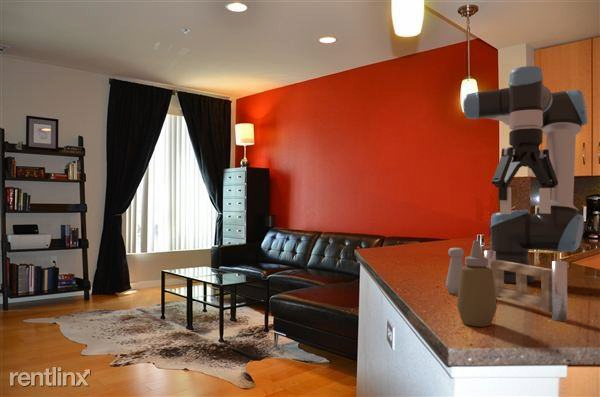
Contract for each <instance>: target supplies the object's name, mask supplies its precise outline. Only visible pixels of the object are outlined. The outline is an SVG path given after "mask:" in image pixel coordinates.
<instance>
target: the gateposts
mask: <svg viewBox="0 0 600 397" xmlns="http://www.w3.org/2000/svg"><path fill="white" fill-rule="evenodd" d="M483 257H486V258H488V266H486V267H488V268H490V269H491V270H492V260H496V251H492V250H491V249H490V250H487V249H486V250H483ZM551 269H552V312H551V320H553V321H557V322H567V321H568V261H564V260H552V261H551Z"/></svg>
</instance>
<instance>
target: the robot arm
mask: <svg viewBox="0 0 600 397" xmlns="http://www.w3.org/2000/svg"><path fill="white" fill-rule="evenodd" d="M543 80H544V77H543V70H542V67H541V66H537V65H526V66H520V67H517V68H514V69H512V70H511V71H510V72H509V80H508V87H505V88H501V89H500V88H498V89H492V90H484V91H483V90H482V91H476V92H471V93H467V94H466V95H465V97H464V98H463V103H462V104H463V105H462V108H463V112H464V116H465V117H466V119H468V120H478V119H490V120H493V121H500V122H502V123H503V124H505V125H506V126H509V130H510V131H509V133H508V134H509V135H508V136H509V137H508V138H509V139H508V140H509V141H508V144H509V147H502V149H501V154H500V155H501V156H500V159H499V161H498V164H497V167H496V169H495V172H494V174H493V177H492V180H491V184H492V185H493V186H494V187H495V188H498V200H499V212H495V213H493V214H492V215H491V217H490V226H489V228H490V250H492V251H496V260H502V261H508V262H513V263H519V264H525V265H530V266H532V263H531V260H530V250H531V251H532V250H533V251H547V252H549V251H550V252H557V253H562V252H565V253H566V252H567V253H573V252H575V251H578V249H579V247H580V245H581V242H582V239H583V234H584V227H585V226H584V225H585V219H584V216H583V215H582V214H580V213H579V208H577V207H576V206H575V205H574V188H575V167H576V166H575V163H576V162H575V161H576V138H577V135H578V134H579V133H581V132H582V129H583V128H582V127H583V126H585V125H588V121H589V120H588V112H587V111H588V110H587V106H586V100H585V96H584V94H583V91H581V90H580V89H572V90H566V89H565V90H564V91H563V90H561V91H557V92H556V91H555V92H551V90H550V89H549V88H548V87H547V86H545V85H544V83H543ZM543 135H544V136H545V148H544V149H540V146H541V145H542V144H543V139H544V138H543ZM522 167H525V168H529V169H530V170H531V171H532V173H533V175H534V177H535V178H536V179H537V181H538V183H539V184H540V186H541V187H540V188H538V196H539V197H538V200H539V201H538V204H539V205H538V206H537V207H536V213H530V211H529V210H528V209H520V210H512V187H509V186H510V184H511V183H512V180H514V178H515V176H516V175H517V173H518V172H519V170H520V169H521V168H522ZM535 277H536V276H531V275H527V284H529V283H530V284H531V283H534V282H536V278H535ZM505 283H506V284H507V283H508V284H516V272H511V271H506V270H504V284H505Z"/></svg>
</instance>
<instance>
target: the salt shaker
mask: <svg viewBox="0 0 600 397" xmlns="http://www.w3.org/2000/svg"><path fill="white" fill-rule="evenodd" d="M448 256H449V257H450V259H449V266H448V272H447V276H446V280H445V287H446V289H447V292H448V294H451V295H455V296H458V289H459V280H460V270H461V268H463V267H464V262H463V257H464V256H465V250H464V249H463V248H462V247H461V248H460V247H451V248H449V249H448Z"/></svg>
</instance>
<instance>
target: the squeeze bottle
mask: <svg viewBox="0 0 600 397" xmlns="http://www.w3.org/2000/svg"><path fill="white" fill-rule="evenodd" d="M464 264H465V266H464V267H463V268H461V270H460V280H459V289H458V295H457V301H456V307H457V310H458V313H459V317H460V319H461V322H462V323H463V324H465V325H467V326H472V327H477V328H478V327H479V328H482V327H490V326H492V323H493V319H494V317H495V314H496V311H497V297H495V288H494V279H493V270H491V269H490V268H488V267H486V266H488V258H486V257H484V254H483V251H482V248H481V243H480V240H473V242H472V246H471V250H470V254H469V256H465V258H464Z"/></svg>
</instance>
